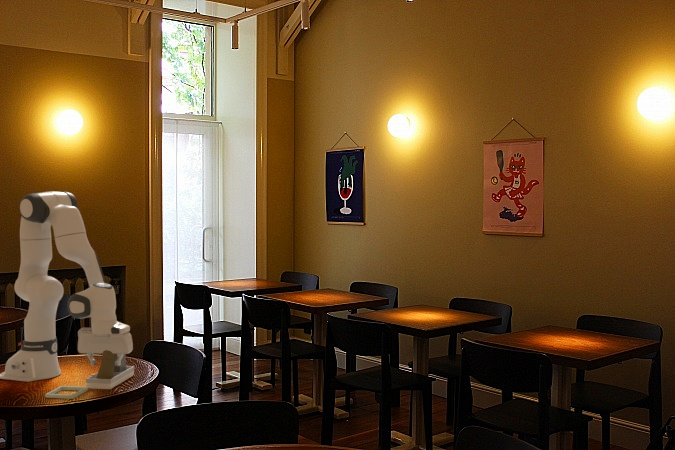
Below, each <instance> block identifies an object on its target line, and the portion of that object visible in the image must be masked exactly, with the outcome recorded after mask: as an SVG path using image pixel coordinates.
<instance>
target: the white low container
mask: <svg viewBox="0 0 675 450" xmlns="http://www.w3.org/2000/svg"><path fill="white" fill-rule="evenodd" d="M97 374H98V372H95V373H91V374H89V375H90V376H89V377H86V379H85V383H86V387H88V389H95V390H96V389H97V390H98V389H99V390H100V389H101V390H111V389H113V388H114V387H117V386H119V385H120V384H122V383H123V382H125V381H127V380H129V379H130V378H132V377H133V375H135V365H133V366H132V365H131V366H130V365H126V370H125V371H124V372H114V377H113V378H111V379H97V378H96V377H97Z"/></svg>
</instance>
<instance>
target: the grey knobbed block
mask: <svg viewBox="0 0 675 450" xmlns="http://www.w3.org/2000/svg"><path fill="white" fill-rule="evenodd" d="M126 355H127V354H124V356H123V357H122V359H121V365H120V366H115V363H114V372H124V371H125V370H126V366H127V358H126ZM118 358H119V357H116V358H115V361H116V360H118Z"/></svg>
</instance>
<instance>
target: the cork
mask: <svg viewBox="0 0 675 450" xmlns="http://www.w3.org/2000/svg"><path fill="white" fill-rule="evenodd" d="M101 356H102V359H101V362H100V366H99V369H98V371H97V373H98V374H97V377H96V378H97V379H111V378H113V377H114V363H115V358H116V357H117V354H113V353H112V352H111V351H108V350H105V351H103V354H102V355H101Z"/></svg>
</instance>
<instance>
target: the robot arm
mask: <svg viewBox="0 0 675 450" xmlns="http://www.w3.org/2000/svg"><path fill="white" fill-rule="evenodd" d="M18 205H19V206H18V209H19V214H20V215H21V217H20V226H19V242H20V243H19V246H20V266H19V271H18V277H17V279H16V280H15V283H14V292H15V294H16V295H17V296H18V297H19V298H21V299H22V300H23V301H26V302H29V306H28V311H27V314H26V317H25V318H24V320H23V324H24V325H23V327H24V328H23V329H24V330H23V331H24V340H23V339H22V340H21V341H19V342H18V345H17V346H21V347H20V349H19V350H18V351H17V352H16V353H14V354H13V355H12V356H11V357H9V358H8V360H7V361H6V362H5V367H4V368H5V369H4V371H2V372H1V373H0V379H2V380H10V381H20V382H26V383H27V382H34V381H40V380H47V379H51V378H54V377H58V376H60V375H61V374H62V371H61V368H60V363H59V359H58V337H57V336H56V330H57V329H56V318H57V310H58V306H59V304H60V301H61V300H62V298H63V296H64V291H65V290H64V286H63V284H62V283H61V281H59V280H58V279H57V278H55V277H53V276H51V275H48V271H49V265H50V262H51V261H52V259H53V244H52V232H53V237H54V242H55V246H56V249H57V252H58V254H59V255H61V257H63V258H64V259H66V260H69V261H71V262H75V263H77V264H78V265H80V267H82V269H83V271H84V273H85V276H86V279H87V282H88V286H89V287H88V288H86V289H85V290H81V291H79V292H75V293H73V294H72V295H70V296H69V298H68V300H67V306H66V307H67V311H68V312H69V314H70V316H71V317H73V318H74V319H82V320H83V319H86V318H90V324H91V325H90V326H91V327H81V328H80V329H79V330H78V331H77V337H78V339H77V340H78V341H77V352H78V353H79V354H86V355H87V359H88V360H89V362H90V366H97V364H98V363H97V362H98V361H97V359H95V357H94V355H95V354H99V355H101V354H103V351H105V350H108V351H111V352H112V353H113V354H117V357H119V358H118V360H116V361H115V366H120V365H121V359H122V357H123V356H124V354H126V355H128V354H130V353H131V352H132V351H133V350H134V343H133V338H132V337H133V336H132V334H131V333H130V330H131V326H130V325H128V324H125V323H122V322H121V321H118V320H117V314H116V309H117V299H116V291H115V288H114V286H113V285H111V284H110V283H107V282H106V279H105V275H104V272H103V270H102V266H101V263H100V260H99V257H98V255H97V252H96V251H95V249H93V247H92V246H91V244H90V241H89V239H88V237H87V230H86V226H85V224H84V220H83V216H82V214H81V212H80V210H79V208H78V200H77V198H76V196H75V195H74V194H73V193H71V192H70V191H69V192H68V191H65V190H64V191H63V190H60V191H57V190H56V191H54V190H53V191H52V190H51V191H43V192H36V193H35V192H34V193H33V192H32V193H29V194H26V195H25V194H24V195H23V196H22V198H21V199H20V202H19V204H18ZM51 228H52V229H53V231H51Z"/></svg>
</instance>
